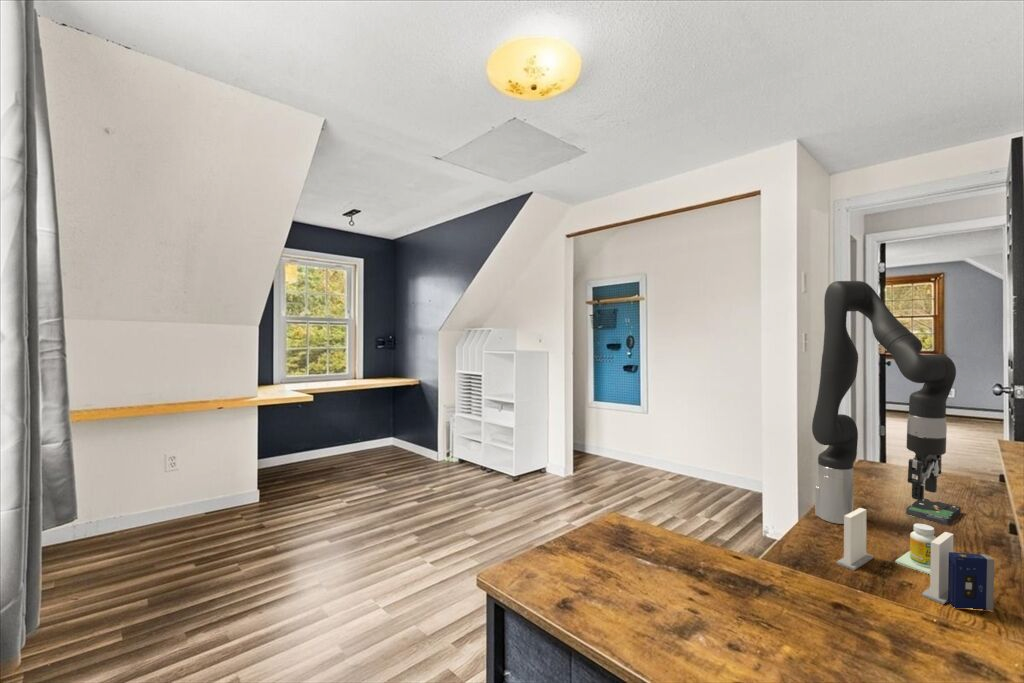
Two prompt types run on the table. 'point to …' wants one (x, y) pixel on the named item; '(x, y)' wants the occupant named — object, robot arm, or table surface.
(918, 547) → the supplement bottle
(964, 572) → the cassette player
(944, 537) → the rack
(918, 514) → the disk drive
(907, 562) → the pad
